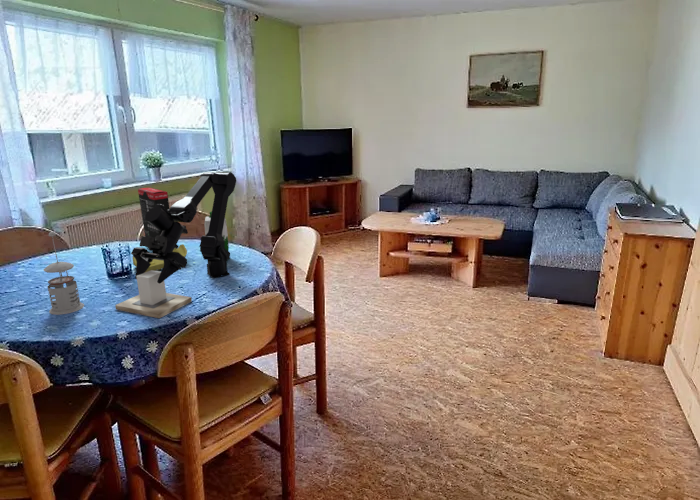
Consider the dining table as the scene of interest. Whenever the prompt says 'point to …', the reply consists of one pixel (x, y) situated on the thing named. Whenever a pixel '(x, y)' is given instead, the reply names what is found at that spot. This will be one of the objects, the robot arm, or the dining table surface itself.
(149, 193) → the graphics card box
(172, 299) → the board
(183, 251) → the plastic component
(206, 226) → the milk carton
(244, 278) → the dining table surface
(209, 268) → the robot arm
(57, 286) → the french press
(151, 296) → the block
